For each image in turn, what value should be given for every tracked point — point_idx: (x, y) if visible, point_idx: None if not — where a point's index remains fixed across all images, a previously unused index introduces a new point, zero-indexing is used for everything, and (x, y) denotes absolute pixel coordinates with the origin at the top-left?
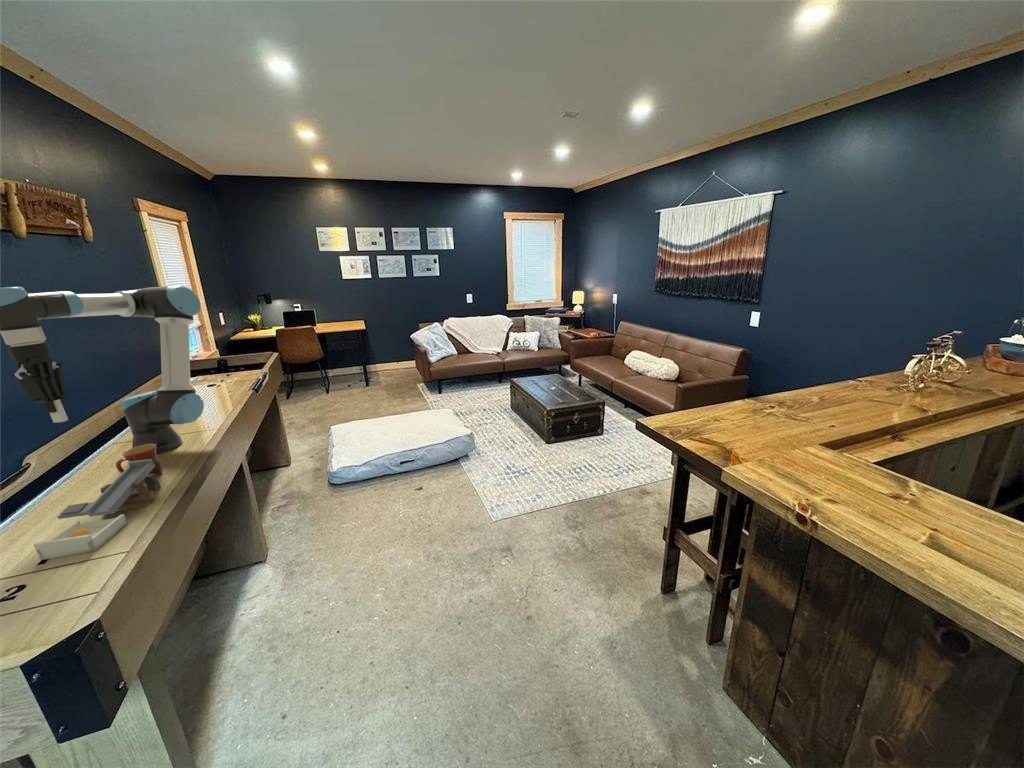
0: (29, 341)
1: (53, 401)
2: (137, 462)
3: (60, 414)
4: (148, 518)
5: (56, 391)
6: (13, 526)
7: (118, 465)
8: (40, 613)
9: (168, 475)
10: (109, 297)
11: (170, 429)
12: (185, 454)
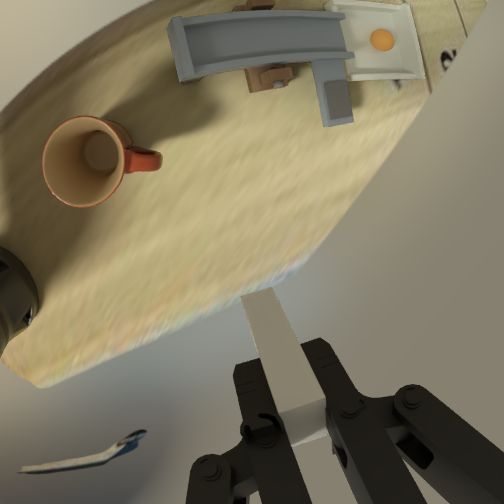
0: None
1: (325, 404)
2: (188, 49)
3: (286, 321)
4: None
5: (294, 486)
6: (309, 249)
7: (160, 157)
8: (464, 5)
9: (107, 92)
10: None
11: None
12: (6, 174)
